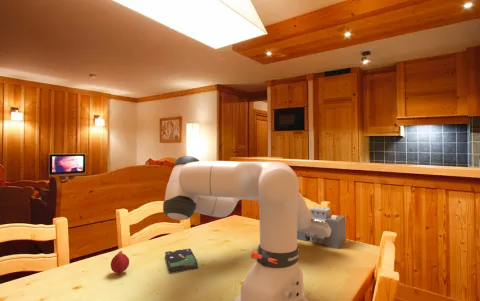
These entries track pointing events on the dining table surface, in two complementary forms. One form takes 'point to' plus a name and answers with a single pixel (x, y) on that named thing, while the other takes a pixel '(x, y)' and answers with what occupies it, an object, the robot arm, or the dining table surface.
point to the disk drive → (180, 260)
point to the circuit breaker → (320, 215)
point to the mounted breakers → (336, 234)
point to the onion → (119, 263)
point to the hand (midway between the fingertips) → (311, 235)
